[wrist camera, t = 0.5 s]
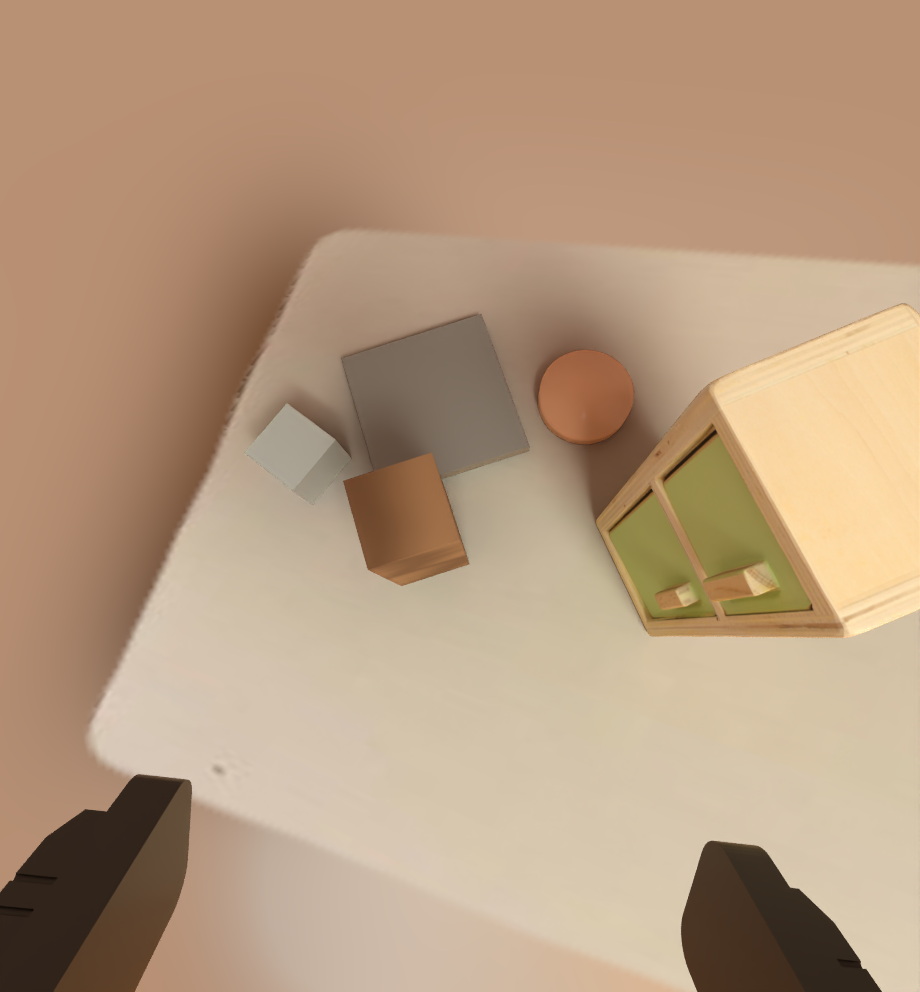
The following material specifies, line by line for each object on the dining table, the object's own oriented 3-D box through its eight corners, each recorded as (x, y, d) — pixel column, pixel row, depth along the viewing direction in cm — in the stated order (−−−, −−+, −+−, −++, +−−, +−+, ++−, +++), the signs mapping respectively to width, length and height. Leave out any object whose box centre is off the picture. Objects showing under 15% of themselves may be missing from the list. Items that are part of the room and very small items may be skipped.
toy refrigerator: (580, 522, 37) (685, 387, 16) (685, 479, 37) (918, 293, 17) (635, 642, 35) (832, 657, 15) (746, 596, 35) (1091, 547, 15)
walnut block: (448, 498, 38) (431, 452, 28) (469, 564, 37) (459, 539, 27) (382, 519, 38) (343, 480, 28) (401, 585, 37) (368, 569, 27)
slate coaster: (481, 321, 40) (480, 313, 40) (528, 450, 38) (529, 446, 37) (344, 364, 40) (341, 358, 39) (383, 497, 38) (380, 494, 37)
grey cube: (307, 425, 40) (286, 403, 36) (351, 458, 39) (335, 439, 35) (269, 470, 39) (244, 453, 35) (313, 505, 38) (292, 491, 34)
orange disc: (588, 343, 40) (591, 332, 38) (647, 407, 38) (653, 399, 37) (519, 395, 39) (520, 386, 38) (577, 462, 38) (581, 455, 36)
